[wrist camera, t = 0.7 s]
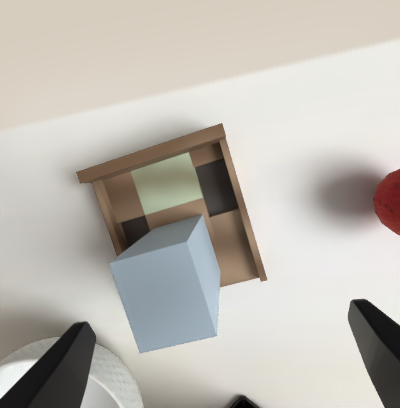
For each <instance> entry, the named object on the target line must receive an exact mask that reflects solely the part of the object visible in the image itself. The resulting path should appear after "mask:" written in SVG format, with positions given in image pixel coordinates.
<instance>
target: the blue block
mask: <svg viewBox="0 0 400 408" xmlns="http://www.w3.org/2000/svg"><path fill="white" fill-rule="evenodd" d="M109 266H110V269H111V272H112V275H113V278H114V281H115V283H116V286H117V289H118V292H119V295H120V298H121V301H122V303H123V306H124V309H125V312H126V315H127V318H128V321H129V324H130V326H131V329H132V332H133V335H134V338H135V341H136V344H137V347H138V349H139V352H140V353H143V352H148V351H152V350H157V349H161V348H166V347H170V346H175V345H179V344H184V343H188V342H192V341H197V340H201V339H206V338H210V337H215V336H217V325H218V307H219V289H220V269H219V266H218V263H217V259H216V256H215V253H214V250H213V246H212V243H211V240H210V237H209V233H208V230H207V227H206V224H205V221H204V217H203V214H201V215H198V216H195V217H191V218H188V219H184V220H181V221H177V222H174V223H171V224H167V225H164V226H160V227H157V228H154V229H153V230H151V231H150V232H149V233H148V234H146V235H145V236H144V237H142V238H141V239H140V240H138V241H137V242H136V243H134V244H133V245H132V246H131V247H129V248H128V249H127V250H125V251H124V252H123V253H121V254H120V255H119V256H118V257H116V258H115V259H114V260H112V261H111V262H110V263H109Z"/></svg>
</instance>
